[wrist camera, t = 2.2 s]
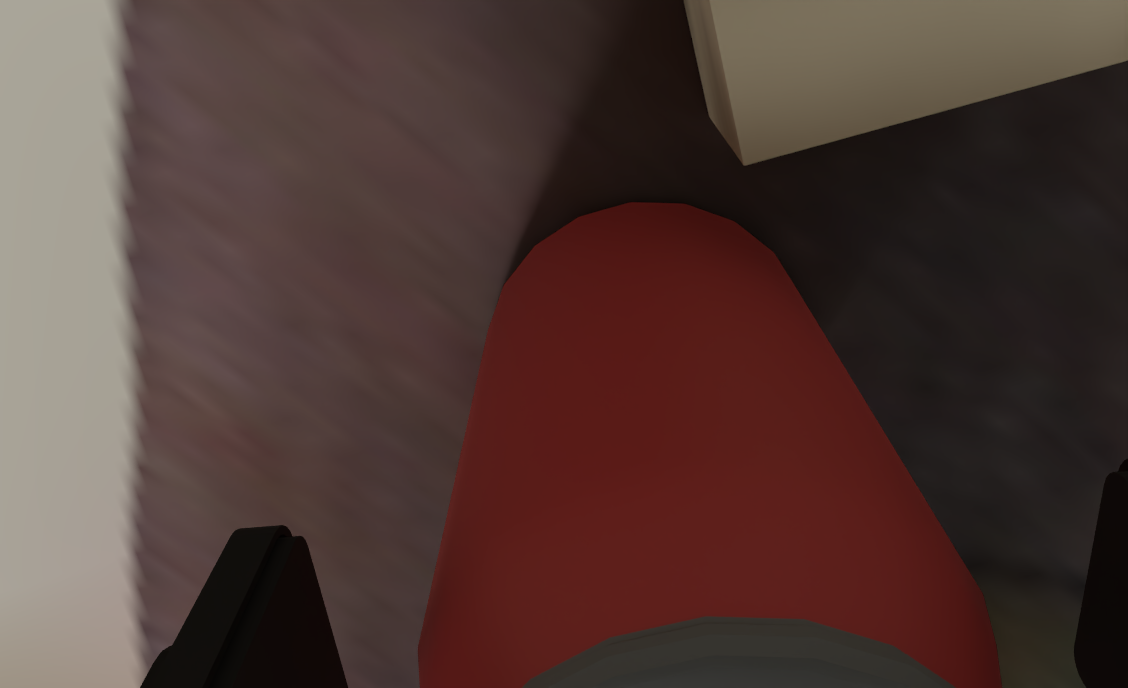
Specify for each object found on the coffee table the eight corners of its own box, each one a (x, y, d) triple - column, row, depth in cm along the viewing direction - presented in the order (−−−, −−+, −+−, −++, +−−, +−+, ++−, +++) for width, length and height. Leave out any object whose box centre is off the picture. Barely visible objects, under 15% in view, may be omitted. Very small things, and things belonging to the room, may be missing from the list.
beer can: (464, 213, 18) (298, 634, 7) (797, 171, 18) (1141, 551, 7) (514, 491, 21) (448, 1100, 10) (805, 460, 21) (1064, 1061, 10)
